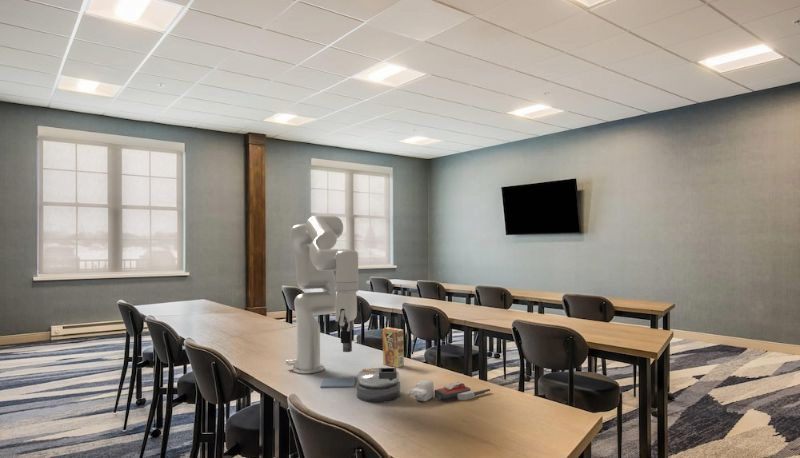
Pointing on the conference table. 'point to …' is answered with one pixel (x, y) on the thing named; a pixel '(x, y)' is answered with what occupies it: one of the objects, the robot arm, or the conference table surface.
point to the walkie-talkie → (456, 392)
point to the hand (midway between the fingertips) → (347, 341)
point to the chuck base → (378, 394)
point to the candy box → (393, 347)
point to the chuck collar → (378, 378)
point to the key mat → (337, 382)
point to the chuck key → (348, 346)
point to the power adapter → (423, 390)
